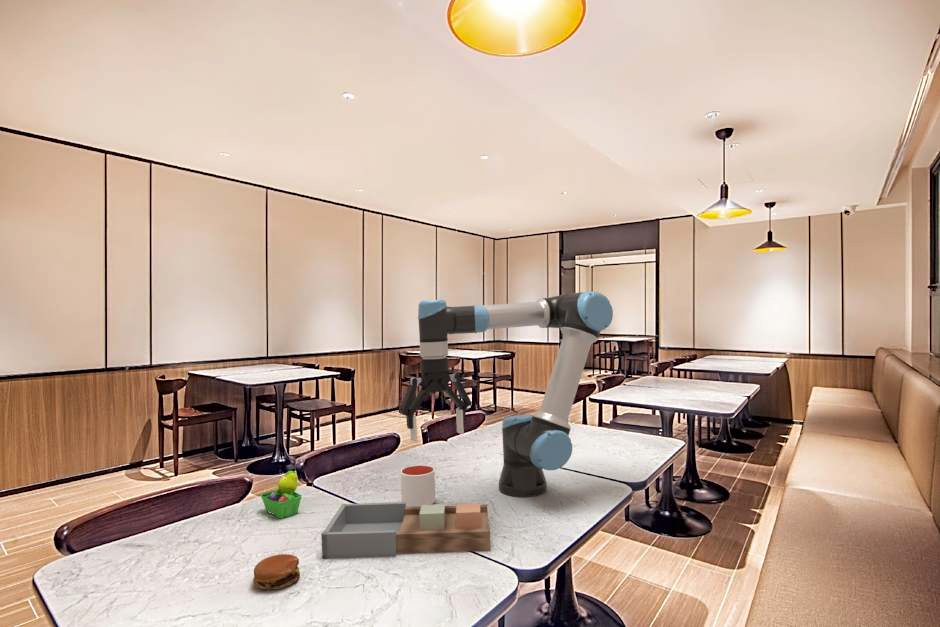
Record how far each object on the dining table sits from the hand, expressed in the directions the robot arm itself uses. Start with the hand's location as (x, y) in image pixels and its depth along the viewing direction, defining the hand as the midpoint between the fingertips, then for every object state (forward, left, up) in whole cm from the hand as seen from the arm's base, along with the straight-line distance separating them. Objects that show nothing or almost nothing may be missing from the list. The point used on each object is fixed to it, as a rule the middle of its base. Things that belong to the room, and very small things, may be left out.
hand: (437, 436), depth 136 cm
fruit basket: (+46, -12, -23) cm, 53 cm away
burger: (+33, +27, -24) cm, 49 cm away
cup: (+7, -15, -23) cm, 29 cm away
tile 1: (+1, +8, -20) cm, 22 cm away
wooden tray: (-2, +8, -23) cm, 25 cm away
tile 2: (-8, +8, -20) cm, 23 cm away
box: (+18, +8, -23) cm, 30 cm away
